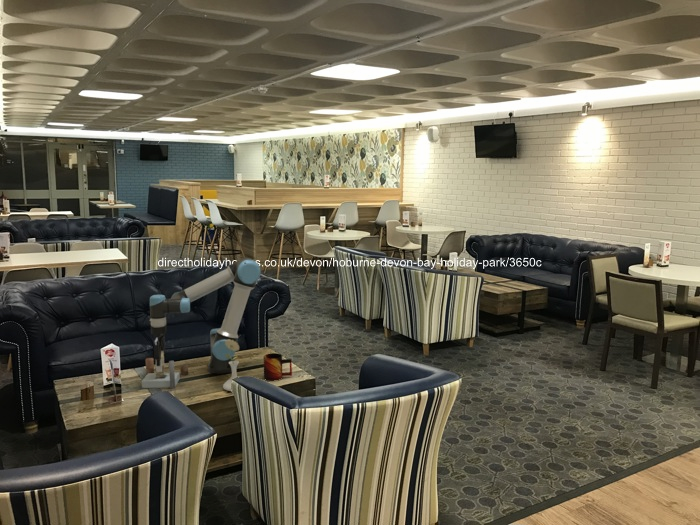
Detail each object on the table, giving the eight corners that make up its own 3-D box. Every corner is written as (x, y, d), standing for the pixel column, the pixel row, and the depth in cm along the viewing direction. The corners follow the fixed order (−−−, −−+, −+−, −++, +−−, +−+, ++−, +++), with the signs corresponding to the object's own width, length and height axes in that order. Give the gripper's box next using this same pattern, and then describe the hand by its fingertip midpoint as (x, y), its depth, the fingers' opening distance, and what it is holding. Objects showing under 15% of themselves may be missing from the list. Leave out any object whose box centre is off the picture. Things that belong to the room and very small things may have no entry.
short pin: (189, 373, 302) (188, 364, 301) (187, 375, 298) (187, 366, 297) (181, 373, 301) (181, 364, 301) (179, 375, 297) (179, 366, 297)
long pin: (165, 376, 288) (164, 350, 286) (163, 379, 284) (162, 352, 282) (157, 376, 287) (156, 350, 285) (155, 379, 283) (154, 352, 282)
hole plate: (181, 378, 293) (180, 353, 291) (174, 389, 278) (173, 362, 276) (148, 379, 291) (147, 353, 289) (140, 390, 277) (138, 362, 275)
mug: (292, 377, 295) (292, 355, 293) (268, 382, 288) (267, 359, 286) (284, 372, 303) (284, 351, 302) (261, 376, 296) (260, 355, 294)
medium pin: (155, 374, 300) (154, 357, 299) (153, 376, 296) (152, 360, 295) (147, 374, 300) (146, 358, 299) (145, 376, 296) (144, 360, 295)
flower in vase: (250, 389, 278) (249, 340, 275) (231, 394, 271) (229, 345, 267) (236, 382, 288) (234, 335, 284) (216, 388, 280) (215, 339, 276)
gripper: (155, 321, 290) (157, 364, 293) (146, 329, 273) (148, 375, 276) (170, 321, 290) (171, 364, 294) (161, 329, 274) (163, 375, 277)
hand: (160, 369), depth 285 cm, fingers closed on long pin, 4 cm apart
